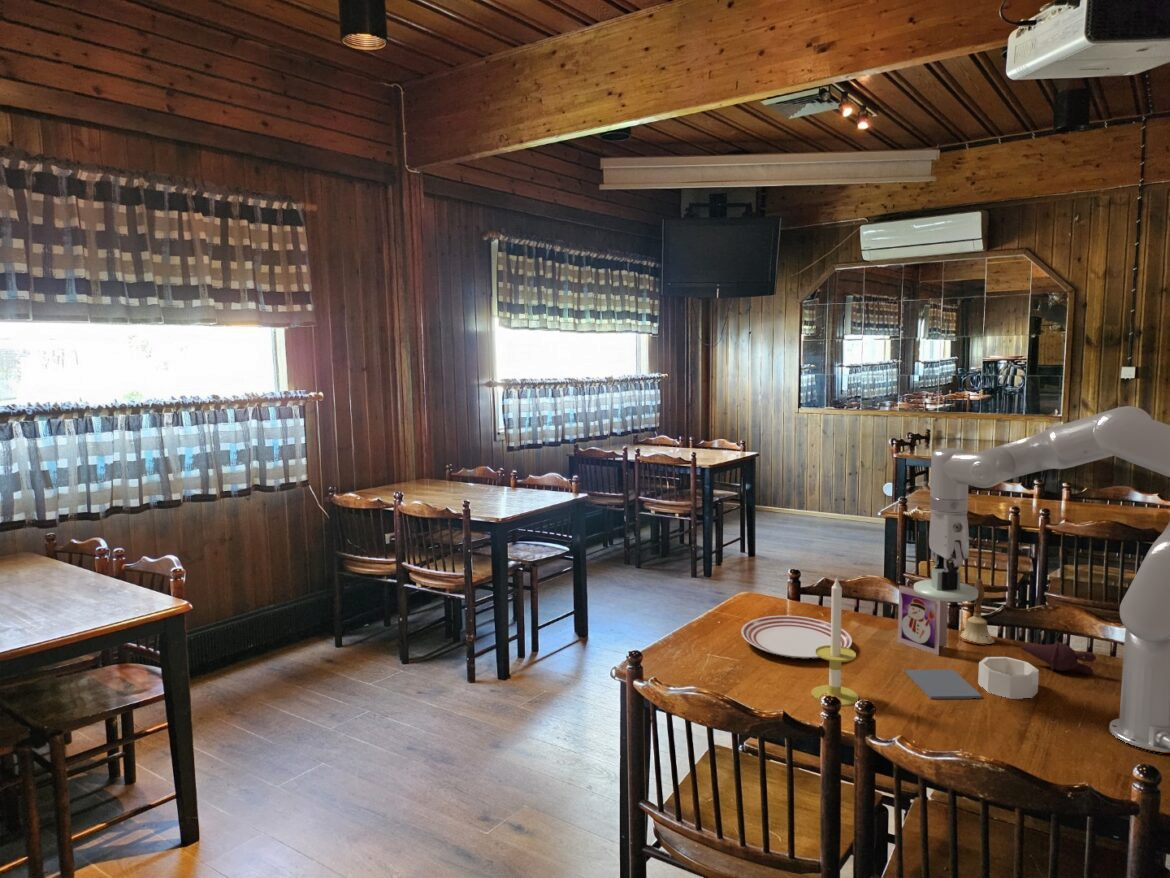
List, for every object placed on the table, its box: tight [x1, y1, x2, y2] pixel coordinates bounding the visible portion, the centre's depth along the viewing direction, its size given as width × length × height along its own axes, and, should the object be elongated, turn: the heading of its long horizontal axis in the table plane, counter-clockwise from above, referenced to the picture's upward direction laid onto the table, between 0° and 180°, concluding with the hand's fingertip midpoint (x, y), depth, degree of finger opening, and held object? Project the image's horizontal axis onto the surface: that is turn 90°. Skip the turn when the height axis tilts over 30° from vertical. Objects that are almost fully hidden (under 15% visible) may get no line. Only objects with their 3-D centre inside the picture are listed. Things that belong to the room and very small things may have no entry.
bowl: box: [977, 656, 1040, 700], centre depth 173 cm, size 11×11×5 cm
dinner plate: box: [740, 614, 853, 660], centre depth 201 cm, size 28×27×3 cm
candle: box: [810, 577, 860, 707], centre depth 170 cm, size 10×10×27 cm
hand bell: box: [959, 578, 995, 644], centre depth 202 cm, size 8×8×16 cm
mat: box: [904, 669, 983, 700], centre depth 176 cm, size 14×11×1 cm
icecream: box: [1020, 640, 1097, 675], centre depth 183 cm, size 7×7×15 cm
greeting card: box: [897, 585, 949, 656], centre depth 198 cm, size 11×7×15 cm, turn 33°
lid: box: [913, 568, 978, 603], centre depth 173 cm, size 13×13×5 cm
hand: (945, 586), depth 173 cm, fingers closed on lid, 3 cm apart
